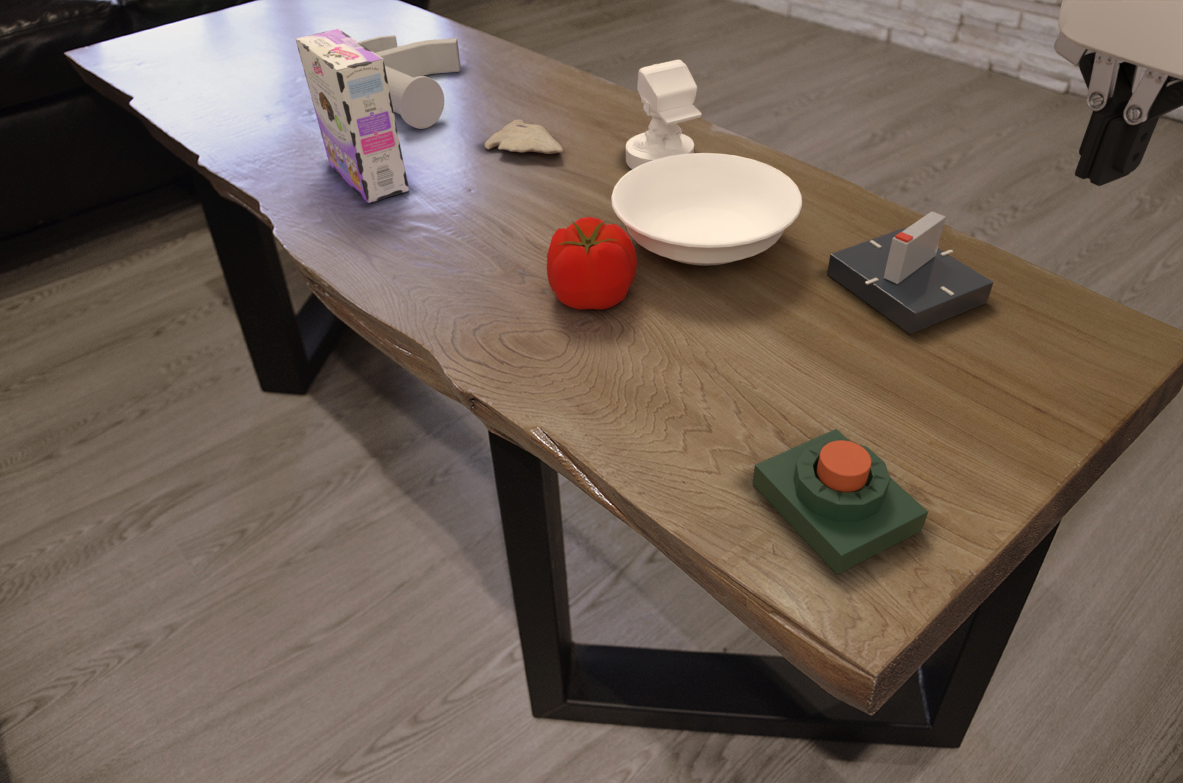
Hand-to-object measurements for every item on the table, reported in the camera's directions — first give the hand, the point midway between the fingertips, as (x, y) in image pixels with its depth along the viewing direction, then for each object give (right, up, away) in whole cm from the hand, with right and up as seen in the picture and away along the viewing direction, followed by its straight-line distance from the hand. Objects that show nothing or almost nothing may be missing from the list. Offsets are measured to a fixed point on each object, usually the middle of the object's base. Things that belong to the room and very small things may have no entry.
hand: (1102, 175), depth 52 cm
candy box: (-60, +14, +57) cm, 83 cm away
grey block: (0, -1, +32) cm, 32 cm away
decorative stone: (-39, +19, +61) cm, 75 cm away
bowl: (-19, +2, +41) cm, 45 cm away
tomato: (-31, -4, +35) cm, 47 cm away
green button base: (-13, -22, +13) cm, 28 cm away
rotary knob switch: (+1, -3, +34) cm, 34 cm away
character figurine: (-22, +16, +57) cm, 63 cm away
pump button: (-13, -19, +10) cm, 25 cm away
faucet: (-58, +33, +78) cm, 102 cm away
